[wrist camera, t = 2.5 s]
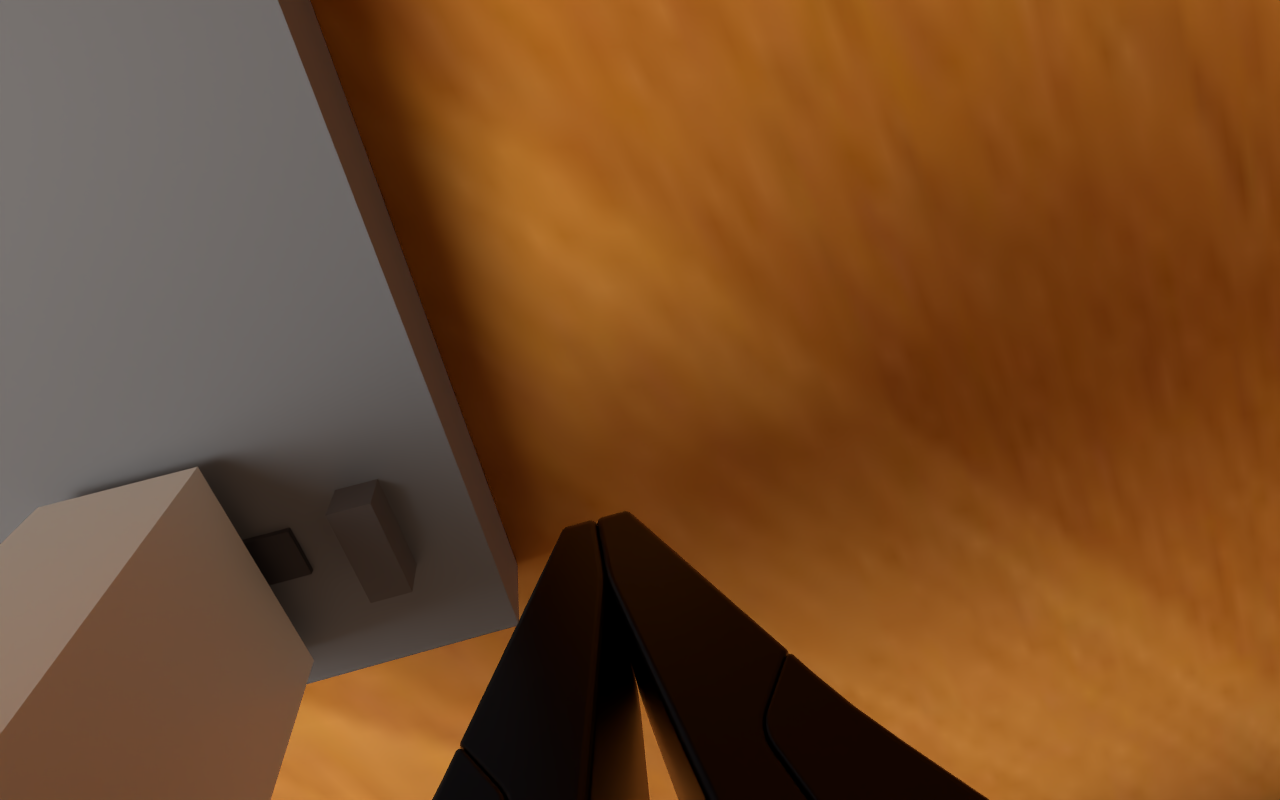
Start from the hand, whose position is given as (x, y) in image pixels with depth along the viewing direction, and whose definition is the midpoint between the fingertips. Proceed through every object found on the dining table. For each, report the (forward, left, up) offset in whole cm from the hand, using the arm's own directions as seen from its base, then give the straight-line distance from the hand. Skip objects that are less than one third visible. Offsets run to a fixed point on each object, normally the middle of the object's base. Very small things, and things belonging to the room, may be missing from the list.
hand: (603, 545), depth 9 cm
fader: (0, +6, -1) cm, 6 cm away
